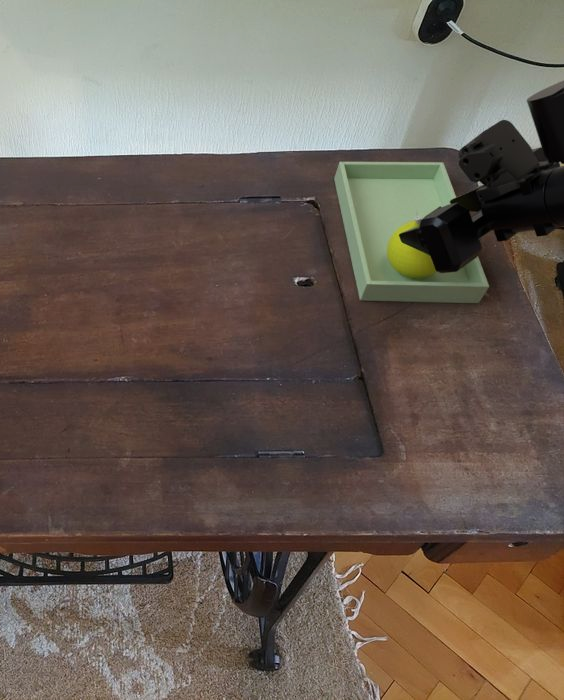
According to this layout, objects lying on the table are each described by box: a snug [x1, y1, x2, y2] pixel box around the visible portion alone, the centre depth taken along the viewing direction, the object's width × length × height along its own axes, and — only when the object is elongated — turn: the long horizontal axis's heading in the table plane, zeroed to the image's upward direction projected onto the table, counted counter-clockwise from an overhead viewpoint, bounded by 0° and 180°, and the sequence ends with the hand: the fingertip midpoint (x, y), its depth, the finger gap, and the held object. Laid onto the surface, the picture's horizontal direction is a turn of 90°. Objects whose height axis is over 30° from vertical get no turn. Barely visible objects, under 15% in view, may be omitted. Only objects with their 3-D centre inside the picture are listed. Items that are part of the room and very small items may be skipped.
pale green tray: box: [333, 161, 490, 304], centre depth 86 cm, size 14×23×3 cm, turn 176°
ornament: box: [387, 211, 437, 278], centre depth 79 cm, size 7×7×10 cm
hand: (426, 220), depth 77 cm, fingers open, 9 cm apart
